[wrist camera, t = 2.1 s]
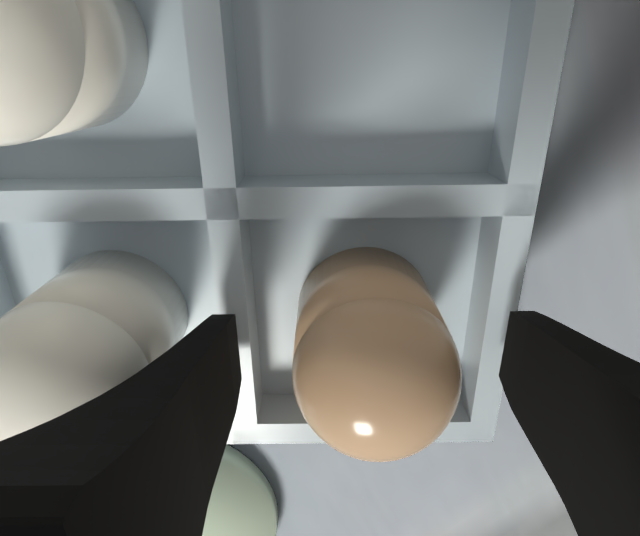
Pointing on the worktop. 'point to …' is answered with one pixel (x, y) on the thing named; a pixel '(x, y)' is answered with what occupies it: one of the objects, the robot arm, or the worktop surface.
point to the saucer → (240, 500)
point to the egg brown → (373, 357)
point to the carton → (310, 173)
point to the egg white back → (84, 335)
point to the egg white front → (67, 65)
